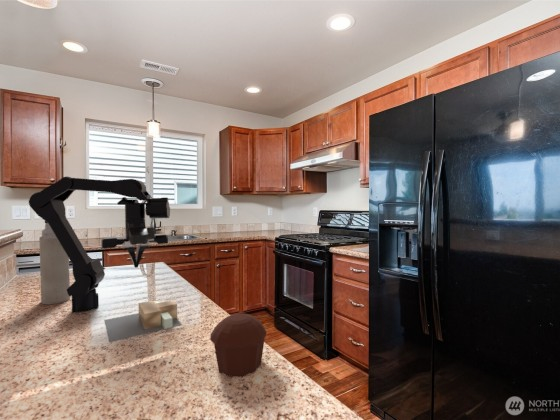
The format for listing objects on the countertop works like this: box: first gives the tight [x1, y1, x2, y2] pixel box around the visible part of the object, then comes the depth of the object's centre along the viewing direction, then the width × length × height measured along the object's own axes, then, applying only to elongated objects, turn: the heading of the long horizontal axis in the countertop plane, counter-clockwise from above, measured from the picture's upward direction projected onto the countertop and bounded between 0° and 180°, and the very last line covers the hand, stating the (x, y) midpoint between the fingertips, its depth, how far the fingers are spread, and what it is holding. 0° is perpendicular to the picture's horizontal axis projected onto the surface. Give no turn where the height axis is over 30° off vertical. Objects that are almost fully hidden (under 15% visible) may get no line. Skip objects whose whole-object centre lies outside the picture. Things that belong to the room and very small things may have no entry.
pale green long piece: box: [154, 300, 174, 330], centre depth 84 cm, size 2×16×2 cm, turn 34°
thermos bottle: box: [39, 220, 71, 305], centre depth 101 cm, size 8×8×28 cm
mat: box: [104, 312, 183, 343], centre depth 81 cm, size 17×16×1 cm
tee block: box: [138, 299, 178, 329], centre depth 83 cm, size 9×10×4 cm
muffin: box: [209, 313, 267, 378], centre depth 61 cm, size 12×11×10 cm
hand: (136, 267), depth 94 cm, fingers closed
